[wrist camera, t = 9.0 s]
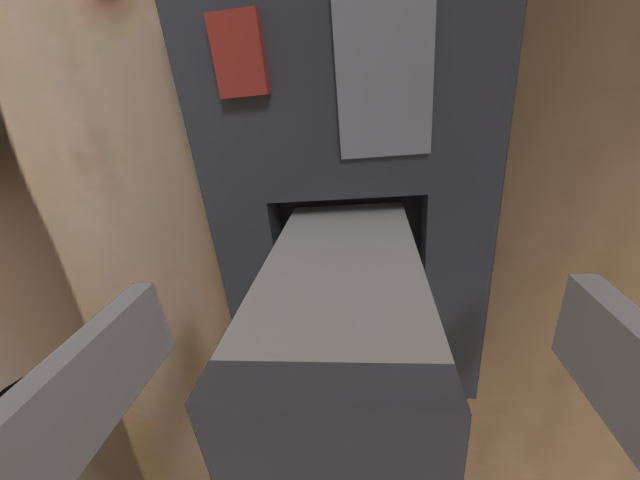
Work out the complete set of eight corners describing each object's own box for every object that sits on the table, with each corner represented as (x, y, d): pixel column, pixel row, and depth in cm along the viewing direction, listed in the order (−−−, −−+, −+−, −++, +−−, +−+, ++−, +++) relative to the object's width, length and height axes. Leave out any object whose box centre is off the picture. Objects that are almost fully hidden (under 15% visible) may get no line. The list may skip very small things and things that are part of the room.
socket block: (176, -28, 12) (133, -55, 10) (511, -82, 10) (552, -129, 8) (260, 363, 19) (246, 400, 17) (464, 366, 18) (479, 407, 15)
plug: (295, 207, 15) (184, 404, 6) (401, 201, 14) (471, 414, 5) (306, 295, 16) (236, 551, 7) (401, 294, 16) (451, 573, 7)
